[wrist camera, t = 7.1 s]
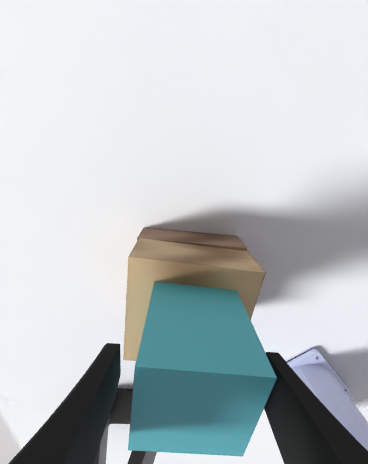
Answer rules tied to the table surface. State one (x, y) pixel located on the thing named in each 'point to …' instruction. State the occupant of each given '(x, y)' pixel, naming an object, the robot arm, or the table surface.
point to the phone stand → (121, 414)
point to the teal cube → (198, 373)
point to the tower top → (184, 278)
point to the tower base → (193, 238)
